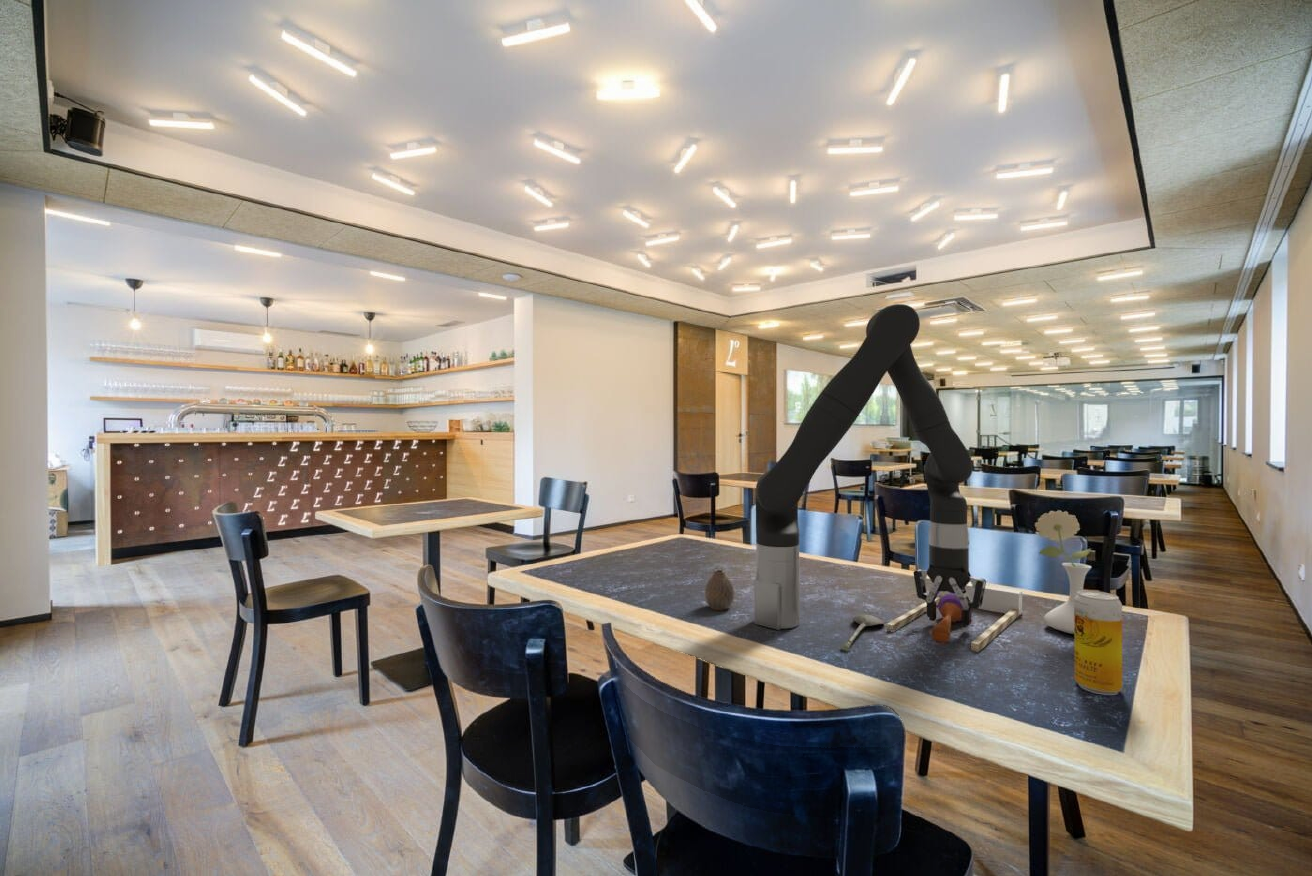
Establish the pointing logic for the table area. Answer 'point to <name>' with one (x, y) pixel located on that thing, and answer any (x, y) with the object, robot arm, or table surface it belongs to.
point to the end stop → (996, 598)
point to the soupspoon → (861, 627)
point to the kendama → (947, 617)
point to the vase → (719, 591)
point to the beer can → (1098, 642)
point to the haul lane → (975, 645)
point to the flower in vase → (1057, 529)
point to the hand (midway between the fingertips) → (948, 622)
